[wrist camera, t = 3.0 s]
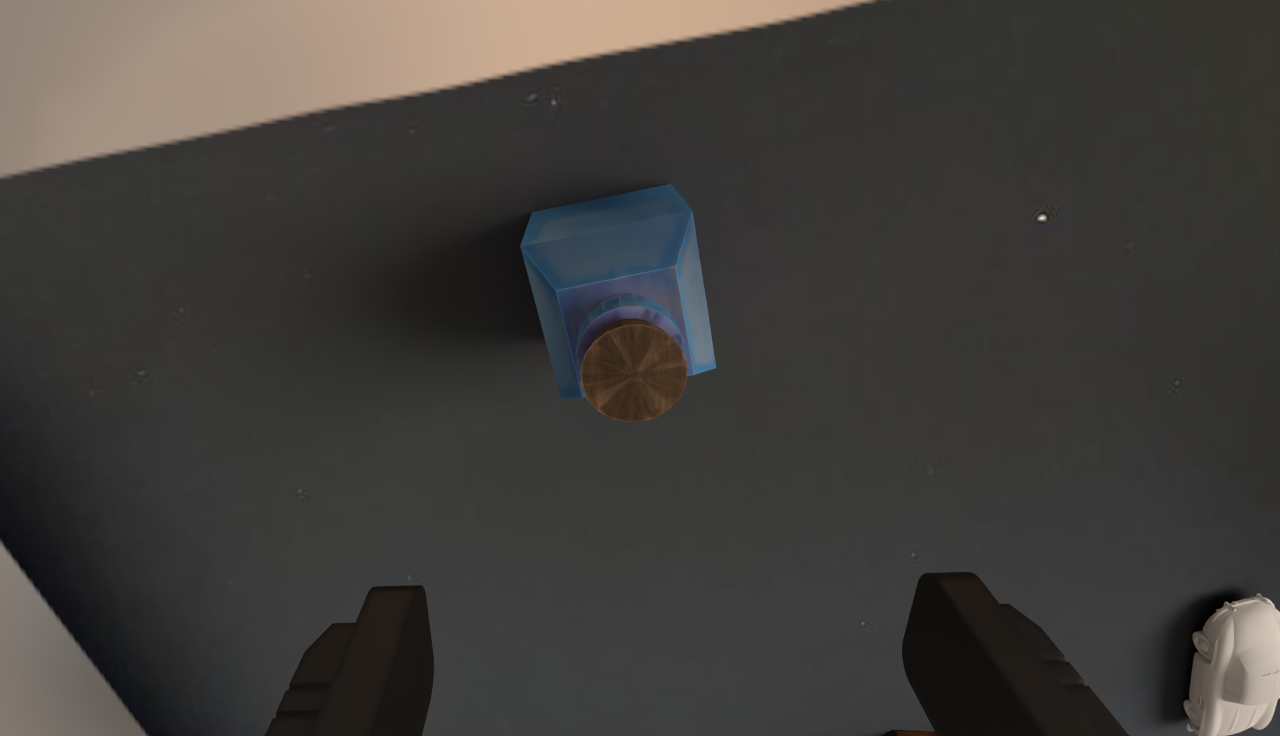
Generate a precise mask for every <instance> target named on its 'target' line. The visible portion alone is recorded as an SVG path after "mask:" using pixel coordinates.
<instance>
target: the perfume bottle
mask: <svg viewBox="0 0 1280 736" xmlns="http://www.w3.org/2000/svg"><path fill="white" fill-rule="evenodd" d="M520 247H521V251H522V255H523V258H524V262H525V266H526V270H527V273H528V277H529V281H530V285H531V289H532V292H533V296H534V300H535V304H536V307H537V311H538V315H539V319H540V322H541V326H542V330H543V334H544V338H545V341H546V345H547V349H548V353H549V356H550V360H551V364H552V368H553V372H554V375H555V379H556V383H557V387H558V390H559V394H560V398H561V399H570V398H581V397H587V400H588V401H589V402H590V403H591V404H592V405H593V406H594V407H595V408H596V409H597V410H598V411H599V412H601V413H602V414H604V415H606V416H608V417H609V418H611V419H615V420H619V421H624V422H642V421H647V420H649V419H652V418H655V417H658V416H660V415H662V414H663V413H664V412H666V411H667V410H669V409H670V408H671V407H673V405H674V404H675V403H676V401H677V400H678V399H679V398H680V396H681V395H682V393H683V390H684V387H685V385H686V382H687V376H690V375H695V374H698V373H701V372H704V371H708V370H711V369H714V368H716V363H715V357H714V350H713V344H712V337H711V330H710V324H709V317H708V311H707V304H706V297H705V291H704V284H703V278H702V271H701V265H700V258H699V251H698V245H697V238H696V232H695V225H694V219H693V212H692V210H691V209H690V207H689V206H688V205H687V204H686V202H685V201H684V200H683V198H682V197H681V196H680V194H679V193H678V192H677V191H676V189H675V188H674V187H673V185H672V184H667V185H662V186H657V187H652V188H647V189H642V190H637V191H632V192H628V193H623V194H618V195H613V196H608V197H603V198H598V199H593V200H588V201H583V202H579V203H574V204H569V205H564V206H559V207H554V208H549V209H544V210H539V211H534V212H532V214H531V217H530V219H529V222H528V225H527V228H526V231H525V234H524V237H523V240H522V243H521V245H520Z"/></svg>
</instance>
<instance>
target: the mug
mask: <svg viewBox="0 0 1280 736" xmlns="http://www.w3.org/2000/svg"><path fill="white" fill-rule="evenodd" d="M885 736H937V734H936V733H934V732H913V731H892V732H890V733H888V734H887V735H885Z"/></svg>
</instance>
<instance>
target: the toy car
mask: <svg viewBox="0 0 1280 736" xmlns="http://www.w3.org/2000/svg"><path fill="white" fill-rule="evenodd" d="M1268 603H1270V604H1271V605H1270V604H1268ZM1216 611H1217V612H1215V613H1214V614H1213V615H1212V616H1211V617H1210V618H1209V619H1208V620H1207V622H1206V623H1205V625H1204V627H1203V630H1201V631H1197V632H1194V633H1193V635H1192V639H1193V643H1194V645H1195V647H1196V648H1197V650H1198V651H1199V652H1196V653H1194V659H1193V666H1192V673H1191V681H1190V690H1189V698H1190V699H1187V700H1185V701H1184V709H1185V711H1186V713H1187V715H1188V717H1189V718H1190V719H1191V721H1190V723H1191V726H1192V727H1190V725H1189V724H1188V723H1187V726H1186V728H1187V730H1188V731H1195V733H1196V734H1197V735H1198V736H1227V735H1232V734H1236V733H1239V732H1242V731H1244V730H1246V729H1248V728H1250V727H1253V728H1255V729H1257V730H1261V729H1263V728H1265V727H1266V726H1267V725H1268V724H1269V723H1270V721H1271V719H1272V717H1273V714H1274V711H1275V708H1276V704H1277V699H1279V698H1280V612H1279V611H1278V610H1277V609H1275V607H1274V605H1273V603H1272V602H1271V601H1270V600H1269V599H1267V598H1265V597H1262V596H1261V594H1260V593H1257V594H1256V595H1255V597H1254V596H1252V597H1251V598H1246V599H1242V600H1238V601H1233V602H1232V603H1230V604H1229V603H1228V602H1224V606H1223V607H1222V608H1220V609H1216ZM1203 640H1204V641H1203ZM1226 677H1227V678H1226ZM1225 682H1226V683H1225ZM1224 688H1225V690H1224ZM1227 691H1228V692H1227ZM1229 692H1230V693H1229ZM1234 694H1235V695H1234ZM1236 695H1237V696H1236ZM1224 697H1225V698H1224Z"/></svg>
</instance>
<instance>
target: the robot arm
mask: <svg viewBox="0 0 1280 736" xmlns="http://www.w3.org/2000/svg"><path fill="white" fill-rule="evenodd" d="M902 656H903V663H904V668H905V672H906V675H907V678H908V680H909V683H910V685H911V687H912V688H913V690H914V692H915V694H916V696H917V698H918V700H919V702H920V704H921V705H922V707H923V709H924V711H925V713H926V715H927V717H928V719H929V721H930V722H931V724H932V726H933V728H934V730H935V732H936V734H937V736H1129V735H1128V734H1127V733H1126V731H1125V730H1124V729H1123V728H1122V726H1121V725H1120V724H1119V723H1118V722H1117V720H1116V719H1115V718H1114V717H1113V715H1112V714H1111V713H1110V712H1109V710H1108V709H1107V708H1106V707H1105V706H1104V704H1103V703H1102V702H1101V701H1100V699H1099V698H1098V697H1097V696H1096V695H1095V693H1094V692H1093V691H1092V690H1091V688H1090V687H1089V686H1085V685H1084V683H1083V679H1082V677H1081V676H1080V675H1079V674H1078V673H1077V671H1076V670H1075V669H1074V668H1073V666H1072V665H1071V664H1070V663H1069V662H1065V660H1064V655H1063V654H1062V653H1061V652H1060V650H1059V649H1058V648H1057V647H1056V646H1055V644H1054V643H1053V642H1052V641H1051V639H1050V638H1049V637H1048V636H1047V635H1046V633H1045V632H1044V631H1043V630H1042V628H1041V627H1039V626H1038V625H1037V624H1035V623H1034V622H1033V621H1031V620H1030V619H1029V618H1027V617H1026V616H1024V615H1023V614H1022V613H1020V612H1019V611H1018V610H1016V609H1015V608H1014V607H1012V606H1011V605H1010V604H999V603H998V601H997V600H996V599H995V598H994V596H993V595H992V594H991V592H990V591H989V590H988V589H987V587H986V586H985V585H984V583H983V582H982V581H981V580H980V578H979V577H978V576H976V575H975V574H973V573H971V572H949V573H925V574H923V575H922V576H921V577H920V579H919V581H918V584H917V588H916V592H915V596H914V600H913V604H912V608H911V611H910V615H909V619H908V623H907V627H906V631H905V635H904V639H903V645H902ZM433 676H434V657H433V649H432V641H431V633H430V624H429V616H428V608H427V600H426V593H425V589H424V587H423V586H422V585H415V586H378V587H372V588H371V589H370V591H369V592H368V594H367V597H366V599H365V601H364V604H363V606H362V609H361V611H360V614H359V616H358V618H357V621H356V623H335V624H332V625H331V626H330V627H329V628H328V629H327V630H326V631H325V632H324V633H323V634H322V635H321V636H320V637H319V638H318V639H317V640H316V641H315V642H314V643H313V644H312V645H311V646H310V647H309V648H308V649H307V650H306V651H305V653H304V655H303V657H302V659H301V661H300V663H299V665H298V667H297V669H296V671H295V673H294V676H293V678H292V680H291V682H290V687H289V690H288V691H286V692H285V694H284V696H283V699H282V701H281V703H280V705H279V707H278V709H277V711H276V712H277V714H276V718H274V719H273V720H272V722H271V724H270V726H269V728H268V730H267V732H266V734H265V736H422V733H423V729H424V724H425V720H426V716H427V712H428V708H429V704H430V699H431V694H432V687H433Z"/></svg>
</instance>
